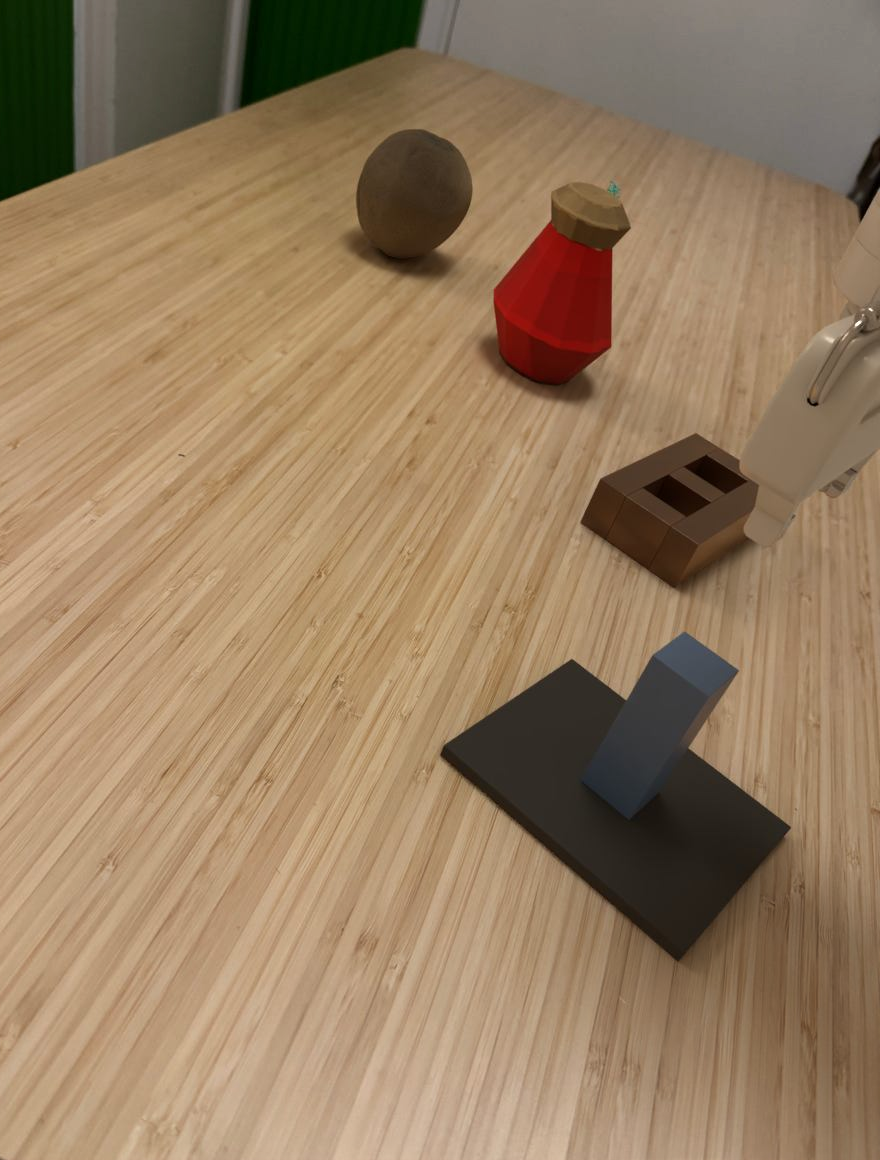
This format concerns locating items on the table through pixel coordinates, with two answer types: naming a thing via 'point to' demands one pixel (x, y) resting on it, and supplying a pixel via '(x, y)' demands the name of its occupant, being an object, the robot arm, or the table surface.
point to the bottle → (562, 288)
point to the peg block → (674, 508)
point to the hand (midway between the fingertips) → (795, 512)
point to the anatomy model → (613, 189)
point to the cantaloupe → (413, 193)
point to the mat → (596, 829)
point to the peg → (658, 723)
